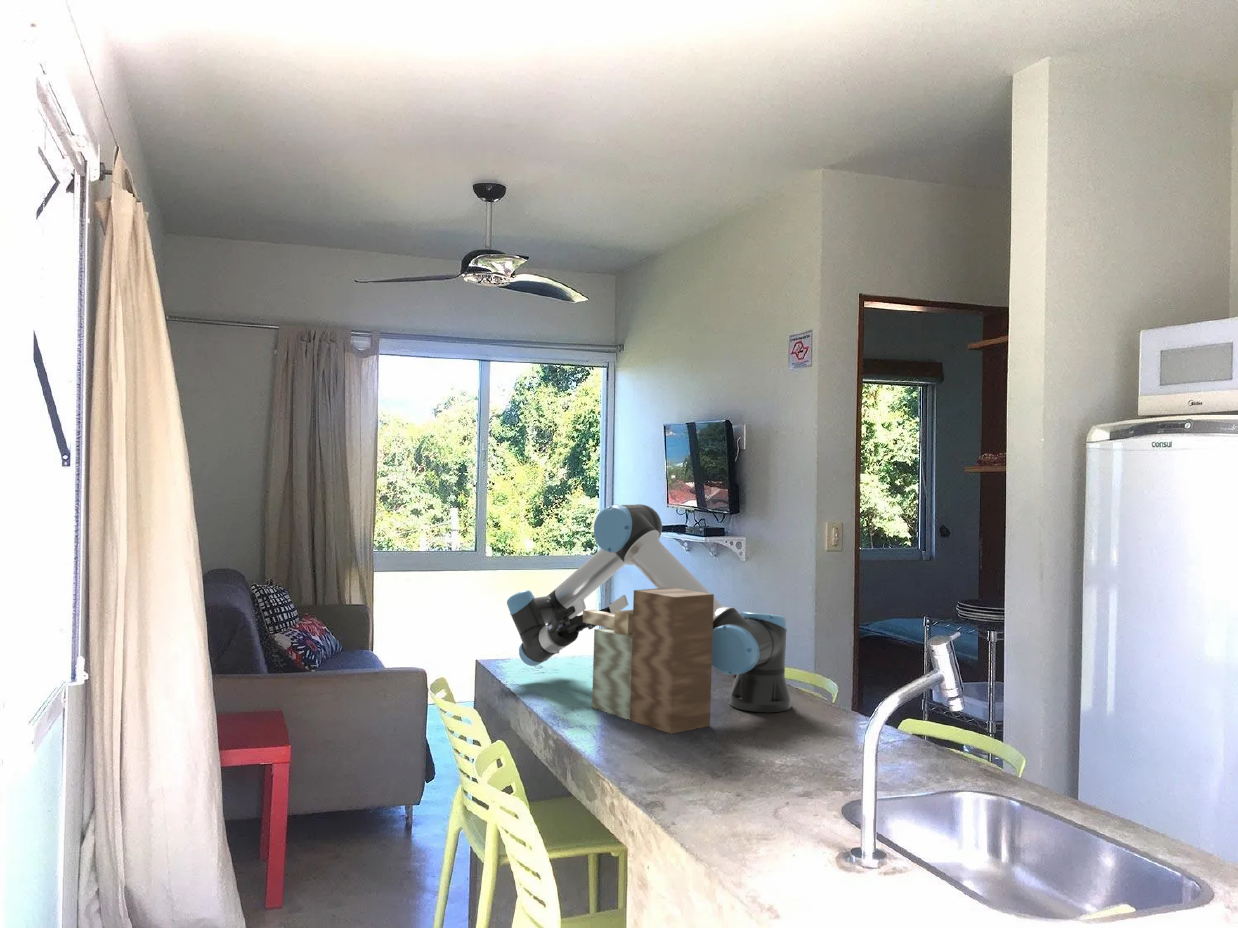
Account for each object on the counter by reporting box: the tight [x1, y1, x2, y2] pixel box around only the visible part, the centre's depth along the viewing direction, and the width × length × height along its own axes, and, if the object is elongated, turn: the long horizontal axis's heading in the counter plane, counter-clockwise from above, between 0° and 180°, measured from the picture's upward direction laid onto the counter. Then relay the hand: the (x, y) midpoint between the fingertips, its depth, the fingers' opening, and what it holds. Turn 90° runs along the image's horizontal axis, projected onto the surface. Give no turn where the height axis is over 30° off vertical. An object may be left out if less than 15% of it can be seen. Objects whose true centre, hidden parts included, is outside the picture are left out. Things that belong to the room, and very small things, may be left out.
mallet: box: [582, 609, 633, 635], centre depth 245 cm, size 21×9×5 cm, turn 40°
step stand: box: [591, 587, 715, 735], centre depth 235 cm, size 28×12×30 cm, turn 40°
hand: (605, 601), depth 248 cm, fingers open, 13 cm apart
